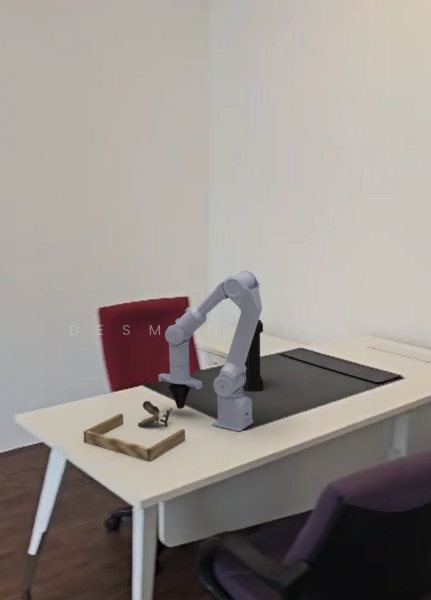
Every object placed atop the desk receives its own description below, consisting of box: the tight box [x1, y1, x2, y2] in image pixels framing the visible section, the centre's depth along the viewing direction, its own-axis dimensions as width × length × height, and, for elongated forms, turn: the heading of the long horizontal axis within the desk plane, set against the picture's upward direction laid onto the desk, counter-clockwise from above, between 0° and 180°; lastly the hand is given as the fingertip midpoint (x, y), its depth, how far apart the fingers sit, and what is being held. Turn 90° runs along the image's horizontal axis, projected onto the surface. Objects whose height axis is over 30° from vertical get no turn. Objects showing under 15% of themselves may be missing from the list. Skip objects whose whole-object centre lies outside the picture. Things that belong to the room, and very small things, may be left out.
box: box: [83, 413, 186, 462], centre depth 178 cm, size 23×15×3 cm, turn 57°
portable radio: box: [243, 319, 264, 392], centre depth 217 cm, size 8×6×25 cm
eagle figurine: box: [137, 400, 173, 427], centre depth 189 cm, size 8×7×9 cm
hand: (180, 407), depth 196 cm, fingers closed
